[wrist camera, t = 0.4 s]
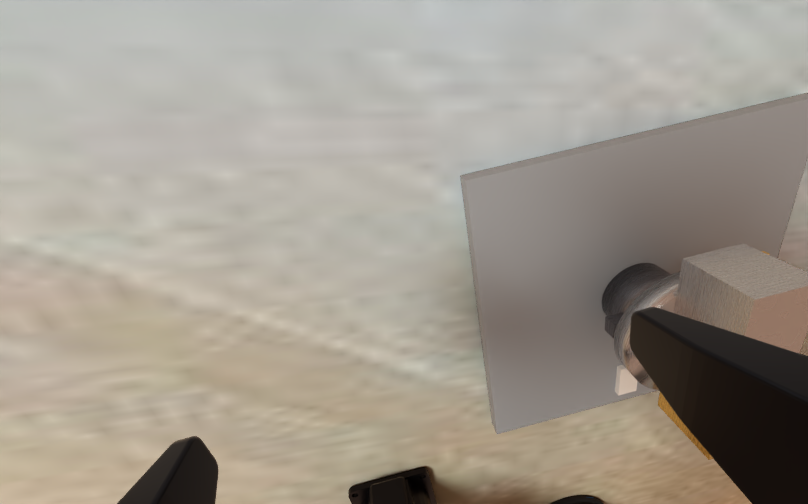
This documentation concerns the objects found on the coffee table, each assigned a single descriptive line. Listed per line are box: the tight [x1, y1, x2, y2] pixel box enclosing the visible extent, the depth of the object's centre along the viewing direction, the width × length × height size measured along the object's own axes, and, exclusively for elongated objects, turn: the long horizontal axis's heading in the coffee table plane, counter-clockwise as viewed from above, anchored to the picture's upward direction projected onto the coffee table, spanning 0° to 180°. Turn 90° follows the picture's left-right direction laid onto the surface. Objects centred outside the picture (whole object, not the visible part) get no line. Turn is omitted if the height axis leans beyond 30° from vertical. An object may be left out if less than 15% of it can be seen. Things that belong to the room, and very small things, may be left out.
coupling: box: [614, 243, 808, 460], centre depth 19 cm, size 10×7×5 cm
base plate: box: [460, 93, 808, 434], centre depth 25 cm, size 20×20×1 cm
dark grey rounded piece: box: [601, 263, 671, 338], centre depth 23 cm, size 4×6×3 cm
